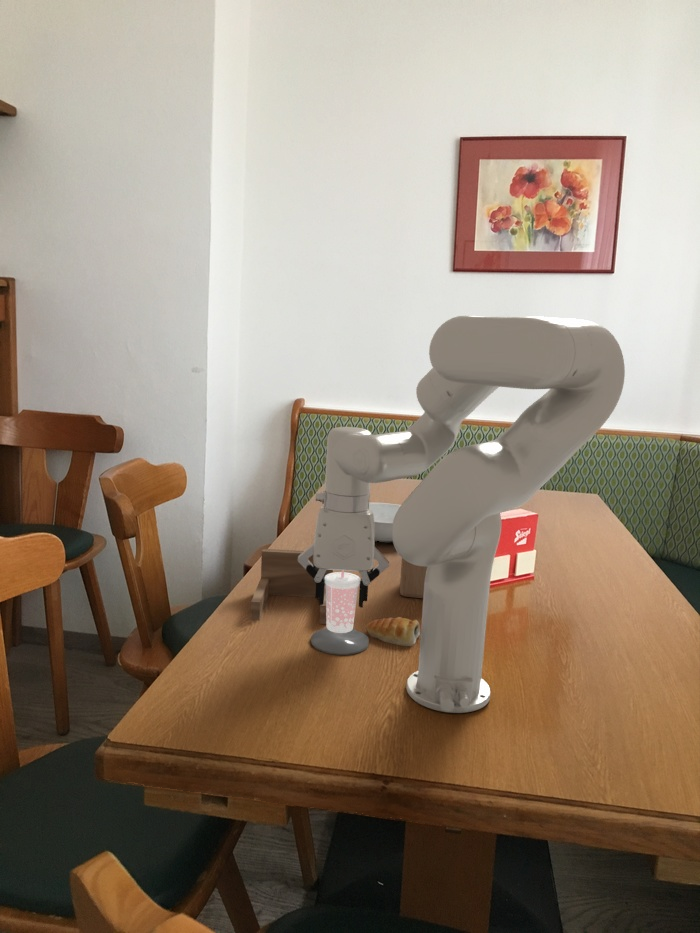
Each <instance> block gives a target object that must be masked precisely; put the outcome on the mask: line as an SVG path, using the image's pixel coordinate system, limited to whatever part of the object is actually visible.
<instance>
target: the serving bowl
mask: <svg viewBox="0 0 700 933" xmlns="http://www.w3.org/2000/svg"><path fill="white" fill-rule="evenodd" d="M401 505H402V504H395V503H388V502H386V503H385V502H369V509H371V510H372V512H373V516H374V526H375V542H377V541H379V543H393V540H392V525H393V520H394V517H395V515H396V513H397V511H398V509H399V508H400V506H401Z"/></svg>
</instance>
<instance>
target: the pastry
mask: <svg viewBox="0 0 700 933" xmlns="http://www.w3.org/2000/svg"><path fill="white" fill-rule="evenodd" d="M365 628H366V630H367V634H368V635H369V636H370V637H372V638H374V639H377V638H378V639H377V640H379V641H382V642H384V643H389V644H394V645H398V646H402V647H412V646H414V645H416V641H417V639H418V638H420V636H421V626H420V623H419V621H418V620H417V619H414V620H413V619H409V618H404V617H401V616H397V617H394V618H393V617H387V618H386V617H383V618H381V619H379V618H378V619H374V620H372V621H370V622H369V623H367V624H366V626H365Z"/></svg>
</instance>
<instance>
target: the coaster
mask: <svg viewBox="0 0 700 933" xmlns="http://www.w3.org/2000/svg"><path fill="white" fill-rule="evenodd" d="M369 640H370V639H369V637H368V636H367V635H366V633H365V632H362V631H360V630H357V629H354V628H353V629H352V630H351V631H350V632H347V633H335V632H332V631H330V630H328V629H327V627H325V628H322V629H319V630H317V631H315V632H314V633H312V634H311V637H310V644H311V645H312V647H313V648H315V649H316V650H317V651H320V652H322V653H325V654H330V655H337V656H348V655H349V656H350V655H356V654H359V653H361V652H364V651H366V650H367V649H368V647H369V644H370V641H369Z"/></svg>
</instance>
